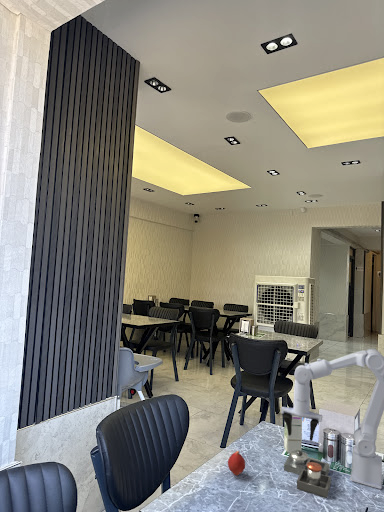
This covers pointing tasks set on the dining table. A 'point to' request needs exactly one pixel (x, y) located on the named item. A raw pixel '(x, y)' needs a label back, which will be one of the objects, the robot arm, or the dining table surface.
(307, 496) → the dining table surface
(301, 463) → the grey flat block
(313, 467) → the pin
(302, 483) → the tray
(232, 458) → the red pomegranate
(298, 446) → the syrup box
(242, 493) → the dining table surface
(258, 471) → the dining table surface
